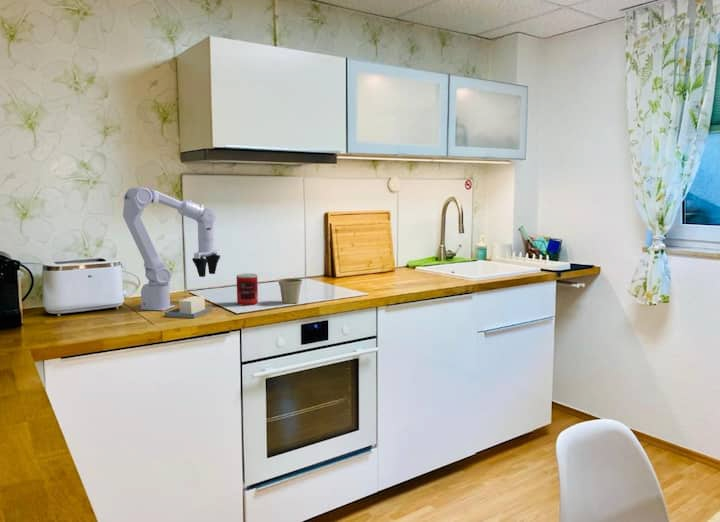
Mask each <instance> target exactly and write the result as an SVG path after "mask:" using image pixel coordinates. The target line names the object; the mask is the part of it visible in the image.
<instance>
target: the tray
mask: <svg viewBox="0 0 720 522" xmlns="http://www.w3.org/2000/svg"><path fill="white" fill-rule="evenodd" d="M212 311H213V307H212V306H209V307H205V309H204V310H201V311H199V312H196V313H193V314H190V313H180V307H175V308H172V309H169V310H168V311H165V312H164V317H165V318H180V319H182V318H184V319H195V318H198V317H200V316H203V315H205V314H208V313H210V312H212Z"/></svg>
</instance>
